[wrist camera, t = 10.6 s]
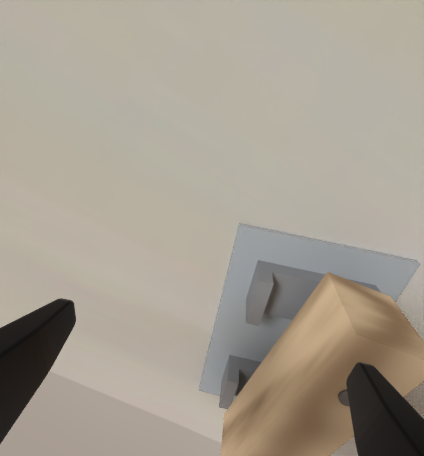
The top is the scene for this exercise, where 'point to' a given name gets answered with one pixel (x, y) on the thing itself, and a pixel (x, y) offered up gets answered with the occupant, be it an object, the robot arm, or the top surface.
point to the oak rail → (321, 372)
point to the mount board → (281, 296)
